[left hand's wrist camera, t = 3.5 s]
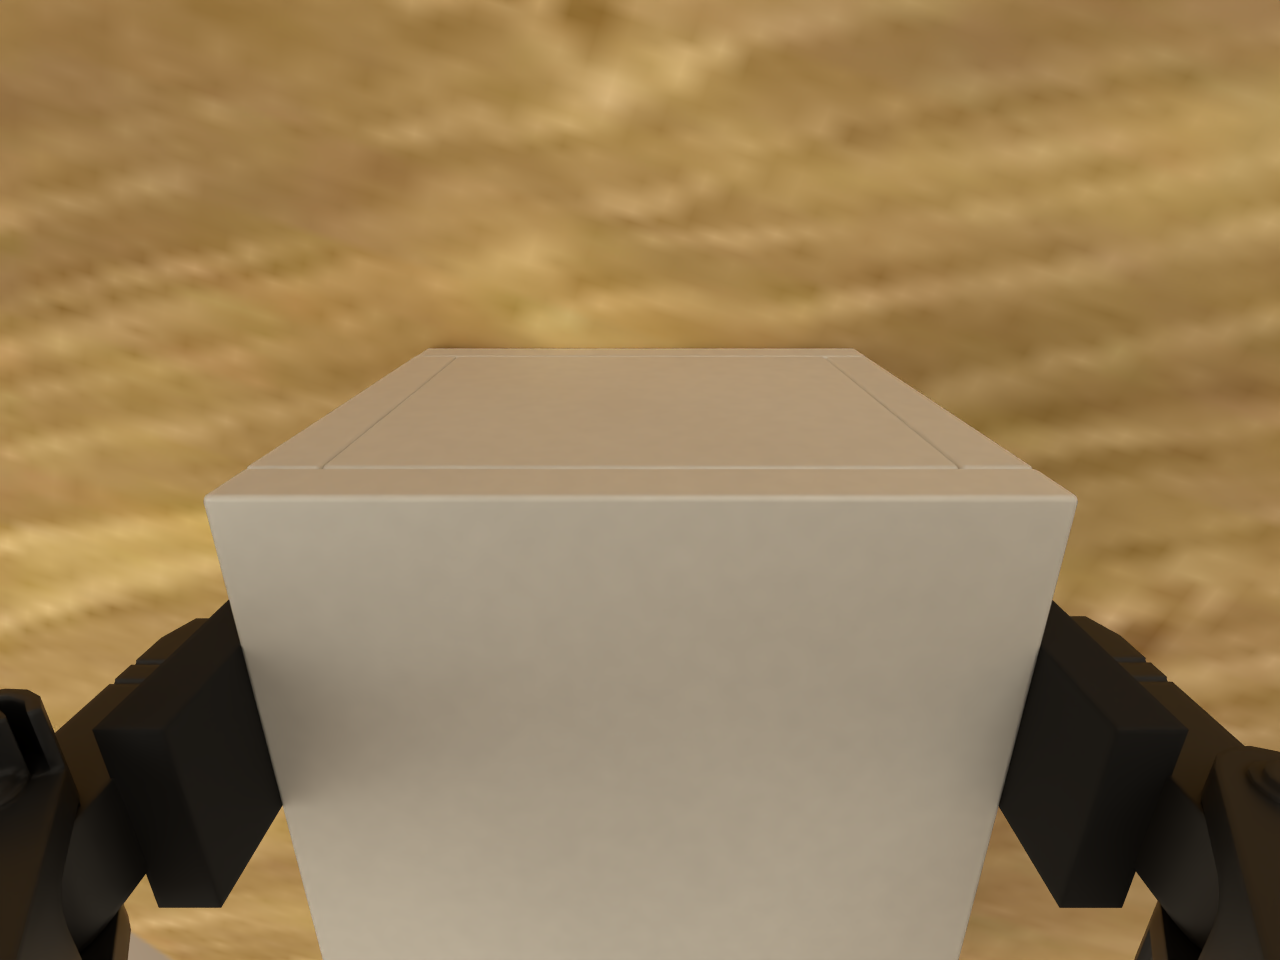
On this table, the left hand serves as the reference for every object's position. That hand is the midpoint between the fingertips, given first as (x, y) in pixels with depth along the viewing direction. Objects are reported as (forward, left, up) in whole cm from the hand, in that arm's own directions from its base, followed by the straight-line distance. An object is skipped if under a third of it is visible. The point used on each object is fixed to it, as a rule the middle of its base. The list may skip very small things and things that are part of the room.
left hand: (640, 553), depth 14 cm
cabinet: (+6, -3, -4) cm, 7 cm away
